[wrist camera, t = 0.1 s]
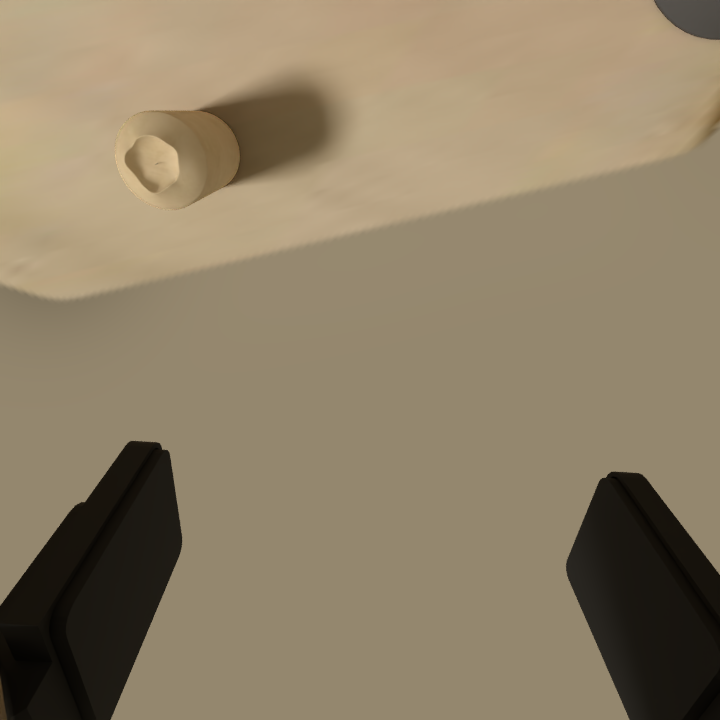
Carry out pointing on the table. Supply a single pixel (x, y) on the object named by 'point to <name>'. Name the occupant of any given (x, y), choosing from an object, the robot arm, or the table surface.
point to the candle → (176, 156)
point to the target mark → (693, 16)
